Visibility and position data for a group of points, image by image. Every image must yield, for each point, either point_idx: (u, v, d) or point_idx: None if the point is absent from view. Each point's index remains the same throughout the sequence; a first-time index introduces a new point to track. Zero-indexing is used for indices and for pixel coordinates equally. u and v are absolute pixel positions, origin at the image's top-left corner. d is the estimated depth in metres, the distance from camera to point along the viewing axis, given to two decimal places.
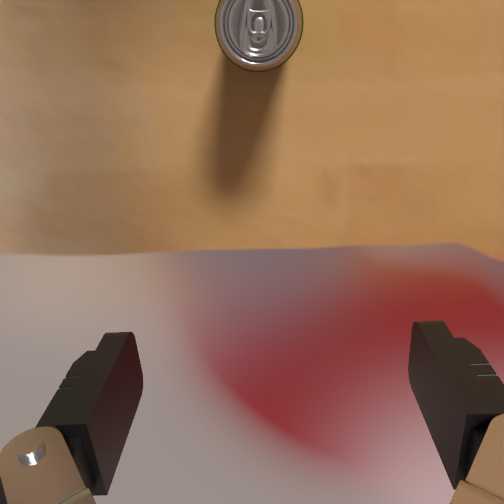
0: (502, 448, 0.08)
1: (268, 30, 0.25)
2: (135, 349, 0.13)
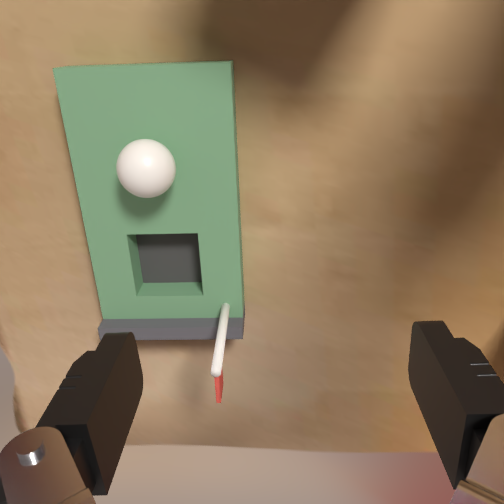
0: (502, 448, 0.08)
1: None
2: (135, 349, 0.13)
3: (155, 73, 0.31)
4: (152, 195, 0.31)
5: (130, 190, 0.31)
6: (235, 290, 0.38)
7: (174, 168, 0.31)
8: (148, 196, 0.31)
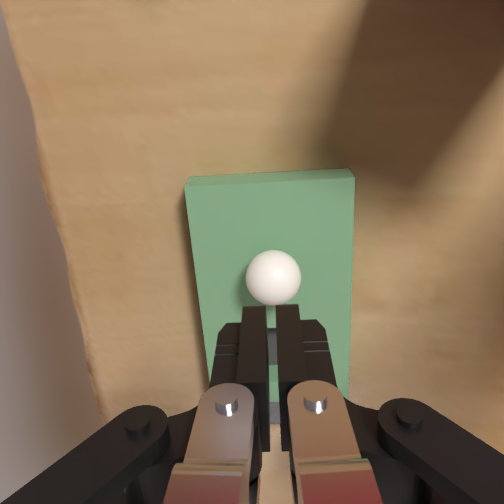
0: (306, 417, 0.09)
1: None
2: None
3: (282, 188, 0.32)
4: None
5: (261, 301, 0.32)
6: (343, 375, 0.39)
7: None
8: None
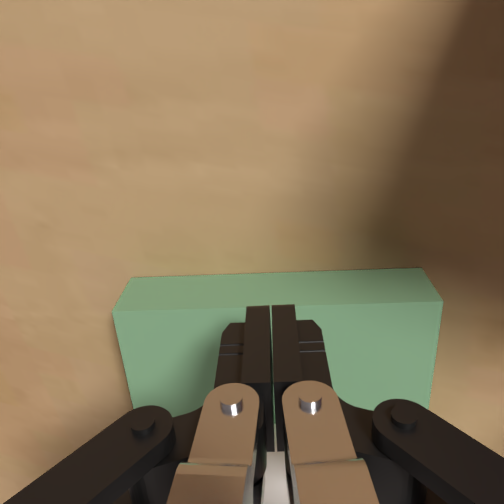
0: (301, 418, 0.09)
1: None
2: (270, 322, 0.14)
3: (300, 317, 0.17)
4: None
5: None
6: None
7: None
8: None
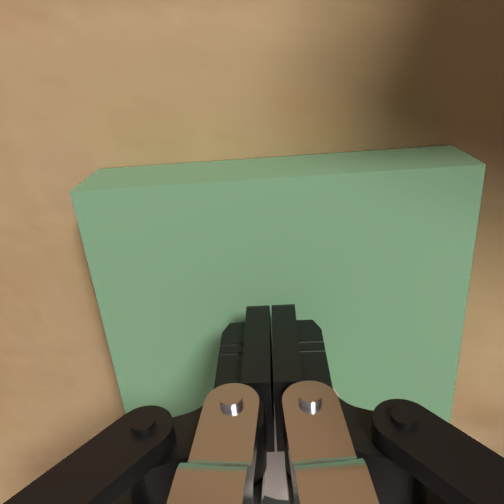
0: (301, 418, 0.09)
1: None
2: (270, 322, 0.14)
3: (305, 193, 0.13)
4: None
5: None
6: None
7: None
8: None
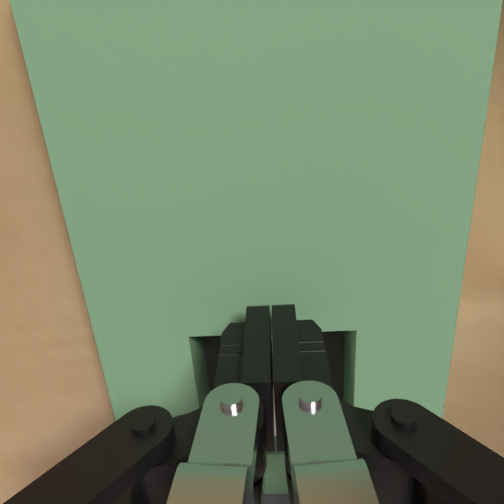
0: (300, 418, 0.09)
1: None
2: (270, 322, 0.14)
3: None
4: None
5: None
6: None
7: None
8: None
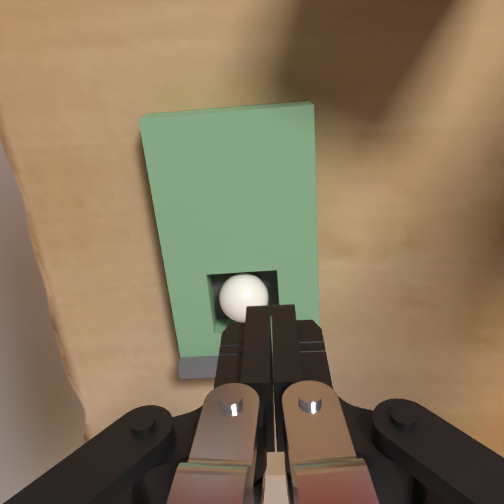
0: (301, 418, 0.09)
1: None
2: (270, 322, 0.14)
3: (239, 118, 0.31)
4: (247, 279, 0.36)
5: (230, 278, 0.37)
6: None
7: (267, 293, 0.38)
8: (243, 279, 0.36)
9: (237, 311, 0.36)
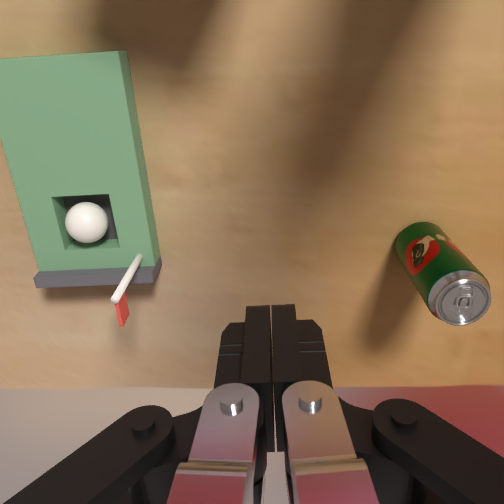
0: (301, 418, 0.09)
1: (468, 306, 0.37)
2: (270, 322, 0.14)
3: (59, 61, 0.39)
4: (84, 208, 0.44)
5: (72, 207, 0.44)
6: (145, 242, 0.46)
7: (106, 219, 0.45)
8: (81, 208, 0.44)
9: (76, 234, 0.44)
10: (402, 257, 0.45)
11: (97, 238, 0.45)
